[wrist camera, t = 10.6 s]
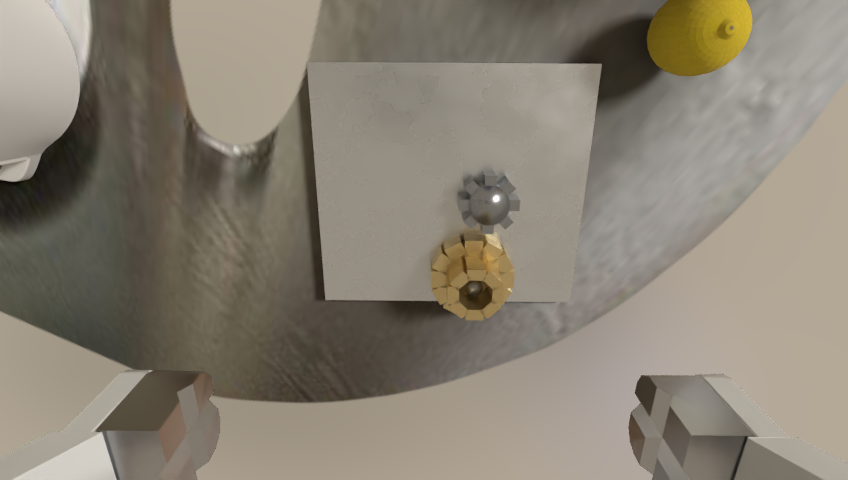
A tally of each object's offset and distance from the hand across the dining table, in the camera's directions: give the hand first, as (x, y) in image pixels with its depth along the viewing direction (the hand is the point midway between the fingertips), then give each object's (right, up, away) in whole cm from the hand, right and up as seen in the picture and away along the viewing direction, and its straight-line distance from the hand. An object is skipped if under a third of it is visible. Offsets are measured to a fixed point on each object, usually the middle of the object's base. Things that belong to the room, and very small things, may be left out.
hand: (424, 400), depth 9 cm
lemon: (+18, +18, +26) cm, 37 cm away
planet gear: (+4, 0, +32) cm, 32 cm away
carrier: (+2, +7, +30) cm, 31 cm away
